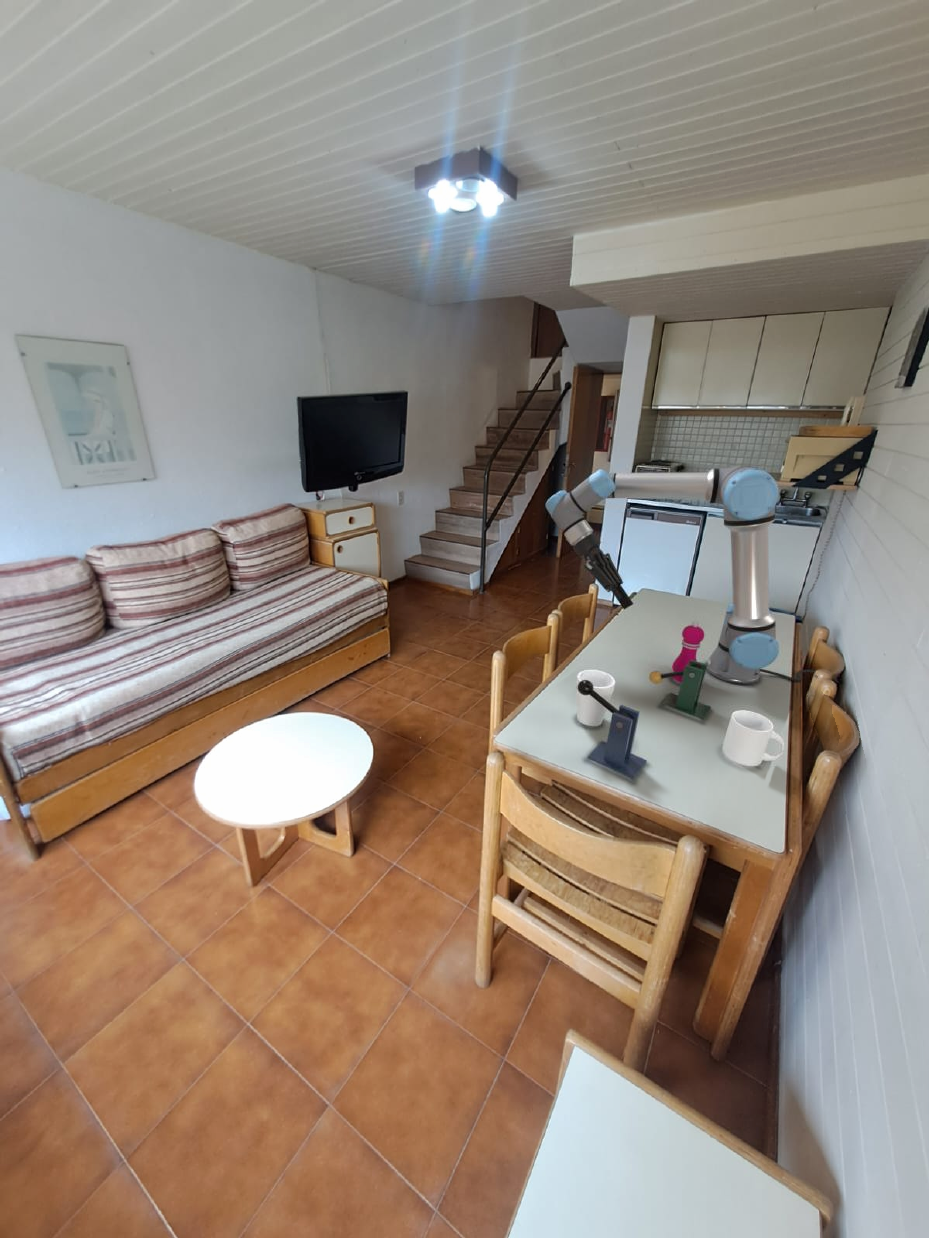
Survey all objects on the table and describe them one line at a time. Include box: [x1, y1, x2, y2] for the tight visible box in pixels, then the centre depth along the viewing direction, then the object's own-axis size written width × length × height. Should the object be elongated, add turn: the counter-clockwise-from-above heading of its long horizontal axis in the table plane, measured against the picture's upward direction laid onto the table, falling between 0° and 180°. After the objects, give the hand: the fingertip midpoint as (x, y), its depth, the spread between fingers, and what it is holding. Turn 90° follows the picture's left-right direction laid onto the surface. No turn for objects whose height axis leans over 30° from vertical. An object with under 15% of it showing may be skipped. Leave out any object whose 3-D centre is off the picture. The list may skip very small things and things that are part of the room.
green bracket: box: [661, 660, 712, 720], centre depth 134 cm, size 11×8×14 cm
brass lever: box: [648, 665, 701, 685], centre depth 136 cm, size 14×4×4 cm, turn 51°
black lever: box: [578, 680, 634, 720], centre depth 112 cm, size 14×4×4 cm, turn 51°
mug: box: [721, 709, 786, 767], centre depth 115 cm, size 9×12×11 cm
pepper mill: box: [671, 620, 705, 683], centre depth 148 cm, size 7×7×20 cm
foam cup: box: [575, 669, 616, 727], centre depth 127 cm, size 10×9×13 cm
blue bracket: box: [587, 704, 647, 780], centre depth 112 cm, size 11×8×14 cm
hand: (628, 606), depth 141 cm, fingers closed
